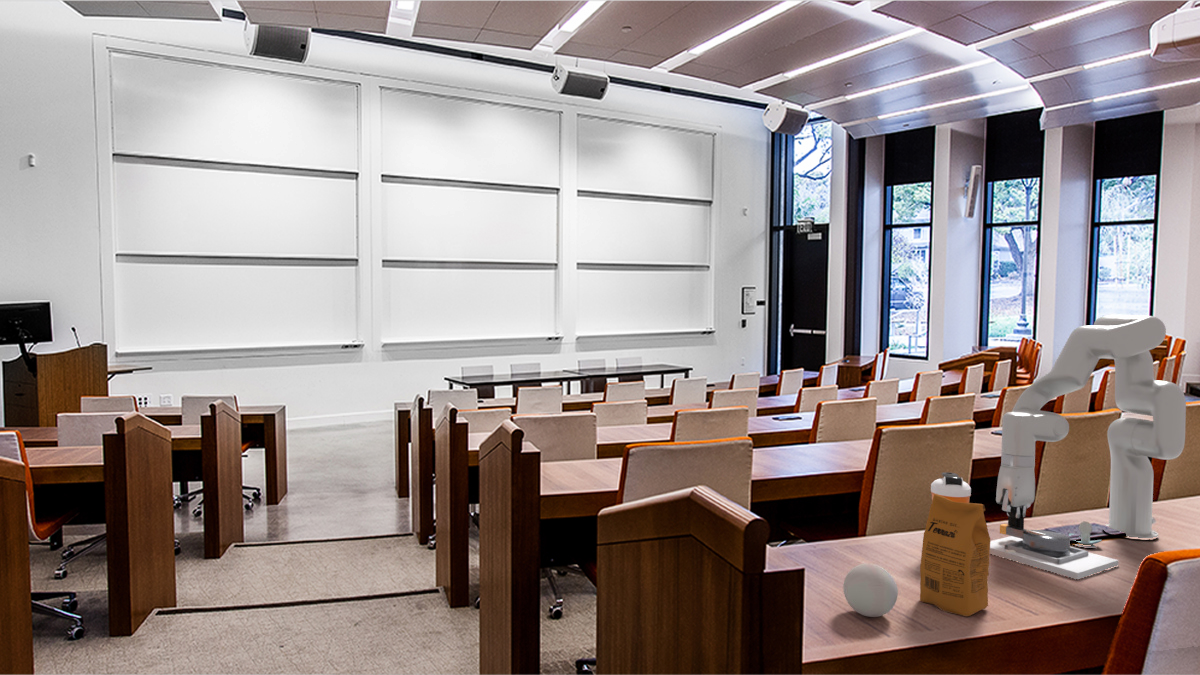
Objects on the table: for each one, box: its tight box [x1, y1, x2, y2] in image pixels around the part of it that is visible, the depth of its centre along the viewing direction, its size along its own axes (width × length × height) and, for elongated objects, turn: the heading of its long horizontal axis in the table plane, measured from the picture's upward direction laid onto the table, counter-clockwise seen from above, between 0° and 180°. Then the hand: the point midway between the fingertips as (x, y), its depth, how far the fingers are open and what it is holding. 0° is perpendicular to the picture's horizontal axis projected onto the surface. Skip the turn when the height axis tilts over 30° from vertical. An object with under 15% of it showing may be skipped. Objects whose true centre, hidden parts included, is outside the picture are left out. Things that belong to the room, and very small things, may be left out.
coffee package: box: [919, 494, 991, 617], centre depth 155 cm, size 10×12×22 cm
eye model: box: [842, 563, 899, 618], centre depth 150 cm, size 10×10×10 cm
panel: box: [989, 535, 1120, 580], centre depth 186 cm, size 18×24×3 cm
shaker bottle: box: [930, 471, 972, 503], centre depth 187 cm, size 9×9×20 cm
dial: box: [999, 523, 1071, 558], centre depth 188 cm, size 16×10×4 cm, turn 31°
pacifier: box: [1068, 521, 1102, 549], centre depth 196 cm, size 7×6×6 cm
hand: (1015, 531), depth 196 cm, fingers closed
